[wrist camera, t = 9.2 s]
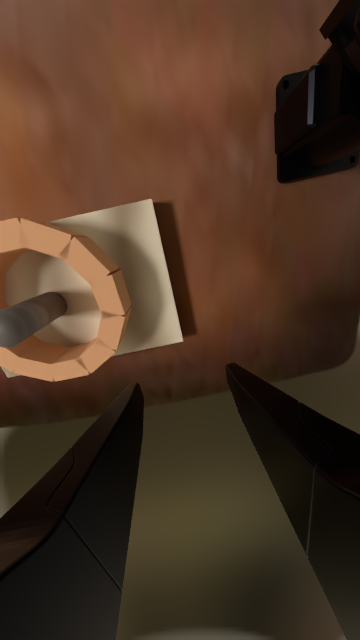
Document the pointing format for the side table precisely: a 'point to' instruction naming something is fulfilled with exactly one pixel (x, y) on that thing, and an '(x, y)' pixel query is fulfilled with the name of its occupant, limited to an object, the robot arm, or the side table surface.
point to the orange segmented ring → (92, 265)
